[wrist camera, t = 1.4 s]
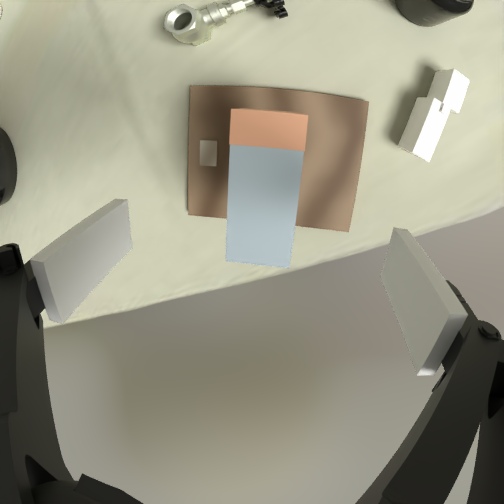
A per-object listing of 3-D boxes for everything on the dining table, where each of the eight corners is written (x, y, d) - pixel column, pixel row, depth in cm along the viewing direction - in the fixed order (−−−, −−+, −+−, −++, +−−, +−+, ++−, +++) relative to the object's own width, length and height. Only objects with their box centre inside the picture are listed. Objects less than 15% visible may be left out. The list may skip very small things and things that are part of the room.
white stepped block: (399, 176, 34) (416, 188, 29) (357, 93, 30) (369, 91, 25) (484, 131, 29) (508, 138, 24) (450, 52, 25) (473, 47, 20)
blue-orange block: (238, 228, 29) (224, 261, 23) (245, 108, 24) (231, 108, 18) (290, 233, 28) (289, 268, 23) (303, 113, 23) (308, 115, 18)
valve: (192, 61, 30) (288, 23, 27) (172, 53, 24) (288, 6, 21) (173, 19, 28) (266, -19, 24) (151, 6, 22) (261, -42, 19)
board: (191, 211, 39) (165, 242, 31) (193, 86, 32) (163, 82, 23) (347, 228, 37) (361, 264, 29) (366, 101, 30) (391, 101, 22)
